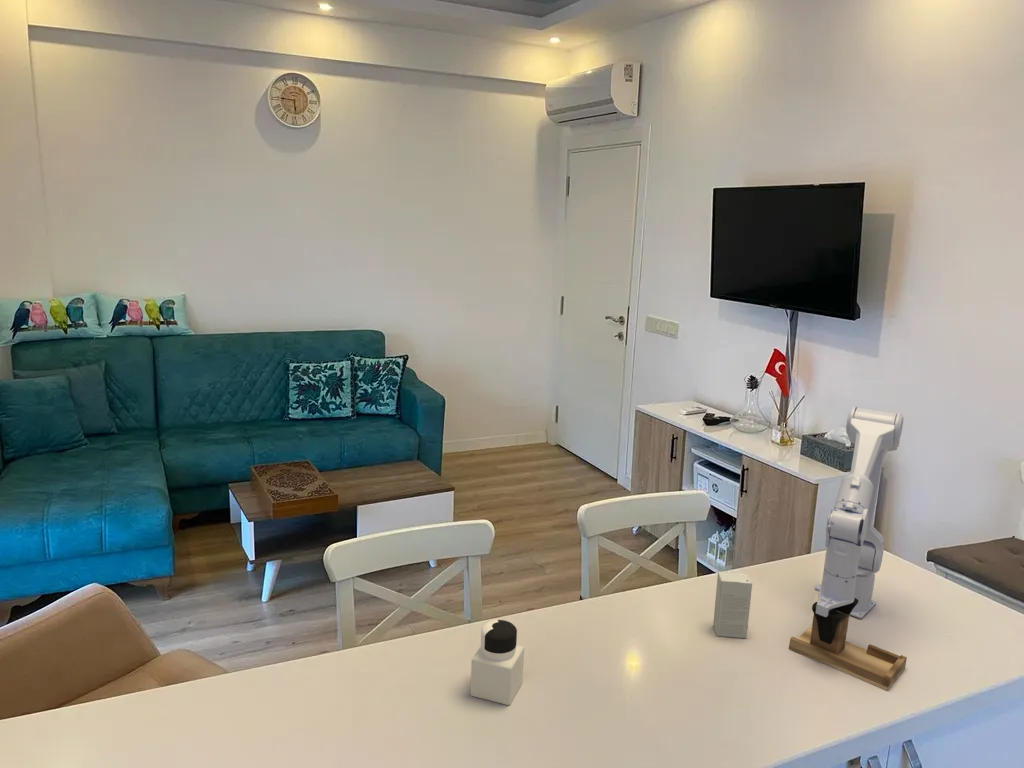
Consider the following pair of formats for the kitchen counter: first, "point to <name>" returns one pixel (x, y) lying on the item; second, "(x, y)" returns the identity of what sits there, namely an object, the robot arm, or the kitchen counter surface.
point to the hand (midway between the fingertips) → (830, 636)
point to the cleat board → (855, 660)
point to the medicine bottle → (497, 663)
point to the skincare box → (732, 604)
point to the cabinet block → (838, 640)
